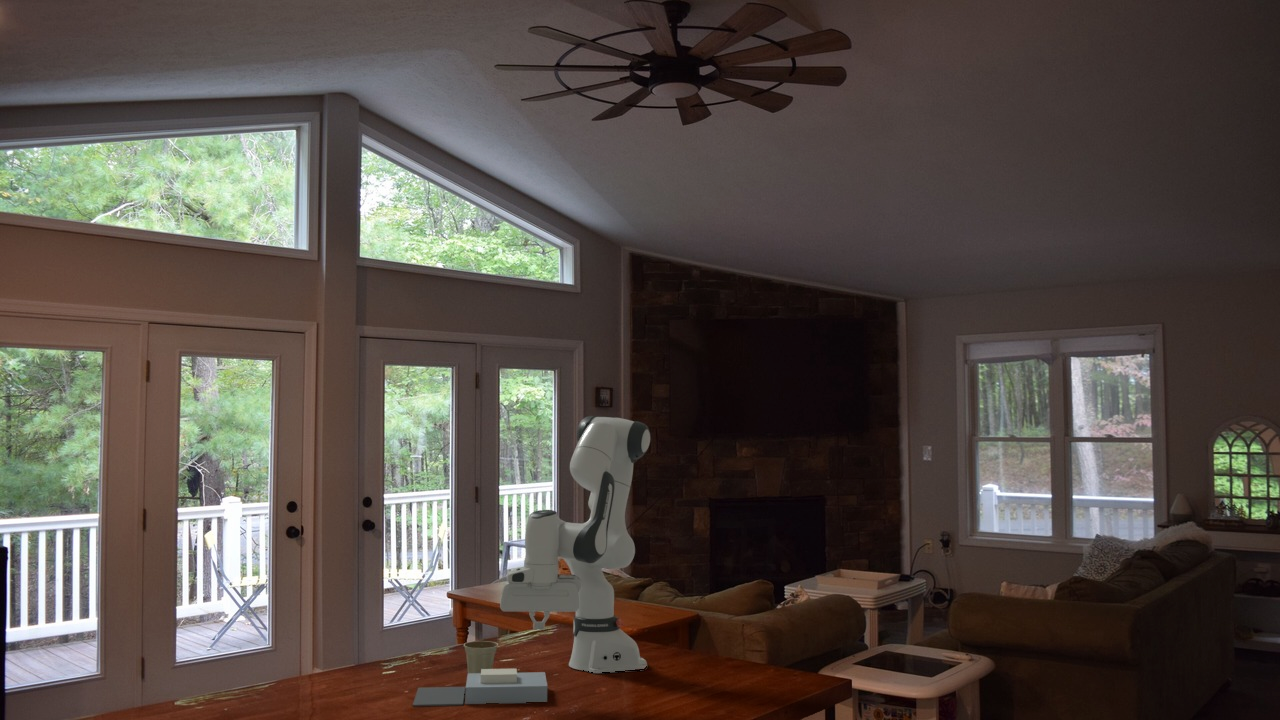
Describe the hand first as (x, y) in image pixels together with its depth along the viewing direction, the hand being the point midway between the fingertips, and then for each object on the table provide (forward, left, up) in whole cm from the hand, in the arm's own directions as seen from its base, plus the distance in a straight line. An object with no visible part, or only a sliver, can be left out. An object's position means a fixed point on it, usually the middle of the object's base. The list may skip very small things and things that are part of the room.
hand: (538, 629), depth 247 cm
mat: (+24, 0, -17) cm, 29 cm away
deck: (+8, 0, -17) cm, 18 cm away
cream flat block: (+10, 0, -13) cm, 16 cm away
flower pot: (+15, -20, -17) cm, 30 cm away
